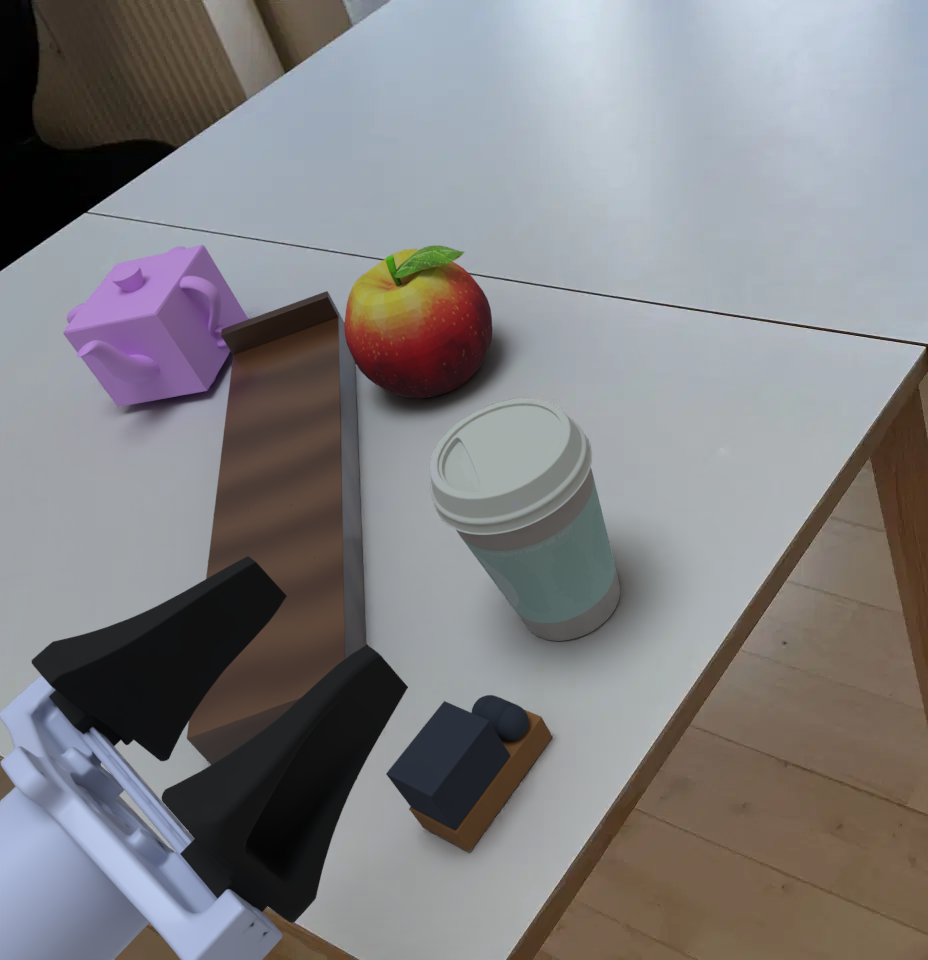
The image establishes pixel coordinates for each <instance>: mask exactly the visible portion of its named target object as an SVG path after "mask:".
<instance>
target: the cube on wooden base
mask: <svg viewBox="0 0 928 960" xmlns="http://www.w3.org/2000/svg"><path fill="white" fill-rule="evenodd" d="M552 738H553V735H552V733H551V731H550V729H549V727H548V726H547V724H546V722H545V721H544V718H543V717H542V716H541V715H538V714H536V713H534V712H531V711H529V710H526V709H525V708H523V707H522V706H521V705H518V704H517V703H514V702H511V701H509V700H506V699H504V698H502V697H499V696H497V695H493V694H487V695H483V696H481V697H480V698H478V699H477V700H476V701H475V702H474V703H473V706H472V707H471V712H470V711H468V710H466V709H464V708H461V707H459V706H457V705H454V704H452V703H451V702H447V701H445V700H444V701H442V703H441V704H440V705H439V707H437V709H436V711H434V713H433V714H432V716H431V717H430V718H429V720H428V721H426V723H425V724H424V725H423V727H422V728H421V730H419V732H418V733H417V734H416V735H415V737H414V738H413V739H412V741H411V742H410V743H409V744H408V745H407V747H406V748H405V749H404V750H403V752H402V753H401V754H400V755H399V757H398V758H397V759H396V760H395V762H394V763H393V764H392V766H391V767H390V768H389V769H388V771H387V772H386V774H385V775H386V776H387V777H388V779H389V780H390V781H391V783H392V784H393V785H394V787H395V788H396V789H397V791H398V792H399V794H400V795H401V796H402V797H403V799H404V800H405V801H406V803H407V804H408V805H409V808H408V809H409V811H410V812H411V814H412V815H413V817H414V818H415V819H416V820H417V822H418V823H419V824H420V826H421V827H422V828H423V829H424V830H427V831H428V832H430V833H432V834H434V835H436V836H438V837H440V838H442V839H444V840H445V841H447V842H449V843H451V844H453V845H454V846H456V847H459V848H460V849H461V850H464V851H466V852H467V853H470V852H471V851H472V850H473V848H474V847H475V845H476V844H477V843H478V841H479V840H480V839H481V838H482V836H483V835H484V833H486V830H487V829H488V827H489V826H490V825H491V823H492V822H493V820H494V819H495V818H496V816H497V815H498V813H500V811H501V809H502V808H503V807H504V805H505V803H506V802H507V801H508V800H509V798H510V797H511V795H512V794H513V792H514V791H515V790H516V789H517V787H519V784H520V783H521V782H522V780H523V779H524V777H526V775H527V773H528V772H529V770H530V769H531V768H532V766H533V765H534V764H535V762H536V761H537V759H538V758H539V756H540V755H541V754H542V752H543V751H544V750H545V748H546V747H547V745H549V742H550V741H551V740H552Z"/></svg>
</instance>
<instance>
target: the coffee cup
mask: <svg viewBox="0 0 928 960" xmlns="http://www.w3.org/2000/svg"><path fill="white" fill-rule="evenodd" d="M592 463H593V447H592V444H591V442H590V439H589V438H588V436H587V434H585V432H584V430H583V429H582V427H581V426H580V425H579V424H578V423H577V422H576V421H575V420H574V419H573V418H571V417H569V415H568V414H567V413H566V411H564V410H563V409H562V408H561V407H560V406H558V405H556V404H555V403H552V402H551V401H547V400H544V399H540V398H530V397H529V398H528V397H527V398H525V397H524V398H523V397H522V398H513V399H508V400H503V401H499V402H496V403H493V404H490V405H488V406H485V407H482V408H480V409H478V410H476V411H474V412H473V413H470V414H469V415H467V416H466V417H464V418H463V419H462V420H460V421H458V422H457V423H456V424H454V425H453V426H452V427H451V428H450V429H449V430H448V431H447V432H446V433H445V434H444V435H443V436H442V438H441V439H440V440H439V441H438V443H437V444H436V446H435V447H434V450H433V452H432V454H431V457H430V460H429V466H428V467H429V468H428V469H429V477H430V482H429V483H430V486H429V492H430V498H431V501H432V503H433V508H434V511H435V512H436V516H437V517H438V518H439V519H440V520H441V521H442V522H443V523H444V524H445V525H446V526H448V527H450V528H451V529H453V530H455V531H456V533H457V534H458V535H459V537H460V538H461V539H462V540H463V542H464V544H465V545H466V547H467V548H468V549H469V551H470V552H471V553H472V555H473V556H475V558H476V560H477V561H478V562H479V564H480V566H481V567H482V568H483V570H484V571H485V572H486V573H487V575H488V576H489V578H490V579H491V580H492V582H493V583H494V584H495V586H496V587H497V588H498V591H500V592H501V594H502V595H503V597H504V598H505V599H506V601H507V603H509V605H510V606H511V607H512V609H513V610H514V612H515V613H516V614H517V616H518V617H519V618H520V619H521V621H522V622H523V623H524V625H525V626H526V627H527V628H528V630H529V631H530V632H531V633H533V635H535V636H537V637H538V638H541V639H544V640H548V641H555V642H558V641H559V642H561V641H571V640H574V639H578V638H582V637H584V636H586V635H587V634H590V633H592V632H593V631H595V630H597V629H598V628H600V626H602V625H603V624H604V623H605V622H606V621H607V620H608V619H609V618H610V617H611V616H612V614H613V613H614V612H615V610H616V608H617V606H618V604H619V601H620V597H621V584H620V580H619V576H618V572H617V568H616V563H615V559H614V556H613V555H614V554H613V550H612V546H611V542H610V540H609V539H610V538H609V535H608V531H607V526H606V522H605V519H604V515H603V510H602V505H601V502H600V498H599V494H598V490H597V485H596V481H595V478H594V473H593V470H592Z"/></svg>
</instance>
